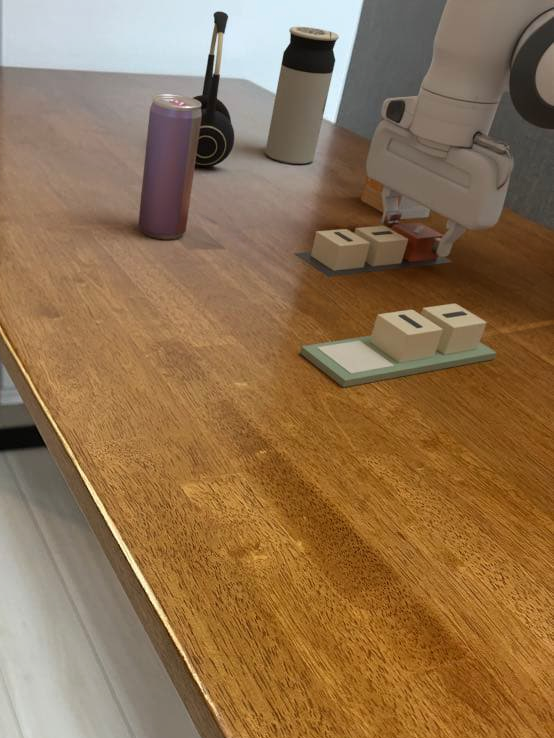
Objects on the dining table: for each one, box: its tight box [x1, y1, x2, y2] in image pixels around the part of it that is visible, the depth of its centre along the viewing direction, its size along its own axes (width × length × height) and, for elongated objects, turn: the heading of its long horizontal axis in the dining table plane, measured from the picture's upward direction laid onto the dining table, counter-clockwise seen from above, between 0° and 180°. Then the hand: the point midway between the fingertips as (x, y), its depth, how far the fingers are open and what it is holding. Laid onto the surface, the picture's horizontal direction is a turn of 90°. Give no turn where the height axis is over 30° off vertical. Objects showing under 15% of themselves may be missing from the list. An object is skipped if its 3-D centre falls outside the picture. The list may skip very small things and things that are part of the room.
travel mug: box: [264, 26, 340, 165], centre depth 134 cm, size 8×8×18 cm
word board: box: [299, 302, 497, 388], centre depth 85 cm, size 20×7×4 cm, turn 118°
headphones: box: [192, 10, 235, 168], centre depth 126 cm, size 9×15×20 cm, turn 0°
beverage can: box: [137, 93, 202, 241], centre depth 102 cm, size 6×6×15 cm
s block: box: [391, 222, 445, 262], centre depth 107 cm, size 5×5×3 cm
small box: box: [360, 117, 431, 220], centre depth 118 cm, size 8×6×13 cm
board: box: [293, 225, 454, 278], centre depth 105 cm, size 20×7×4 cm, turn 118°
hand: (413, 239), depth 107 cm, fingers open, 8 cm apart
